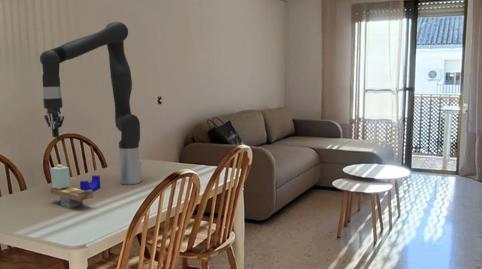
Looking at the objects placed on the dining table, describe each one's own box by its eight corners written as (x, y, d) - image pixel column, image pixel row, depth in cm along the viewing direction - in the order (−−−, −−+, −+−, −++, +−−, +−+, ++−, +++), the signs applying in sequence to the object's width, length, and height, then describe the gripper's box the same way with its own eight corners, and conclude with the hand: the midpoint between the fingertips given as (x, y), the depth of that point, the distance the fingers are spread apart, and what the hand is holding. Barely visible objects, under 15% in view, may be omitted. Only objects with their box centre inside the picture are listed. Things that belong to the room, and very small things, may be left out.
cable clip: (91, 187, 213) (90, 175, 212) (100, 188, 212) (99, 175, 212) (77, 194, 202) (76, 181, 201) (87, 195, 201) (86, 181, 200)
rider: (63, 184, 192) (61, 163, 191) (70, 186, 189) (68, 164, 188) (52, 187, 188) (50, 165, 187) (58, 189, 185) (57, 166, 184)
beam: (64, 199, 194) (63, 182, 193) (93, 207, 182) (92, 189, 181) (51, 202, 189) (50, 185, 188) (79, 211, 177) (78, 193, 176)
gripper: (68, 97, 198) (71, 137, 200) (52, 96, 206) (55, 135, 208) (52, 98, 192) (55, 139, 194) (36, 97, 200) (39, 137, 203)
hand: (55, 137), depth 201 cm, fingers closed
